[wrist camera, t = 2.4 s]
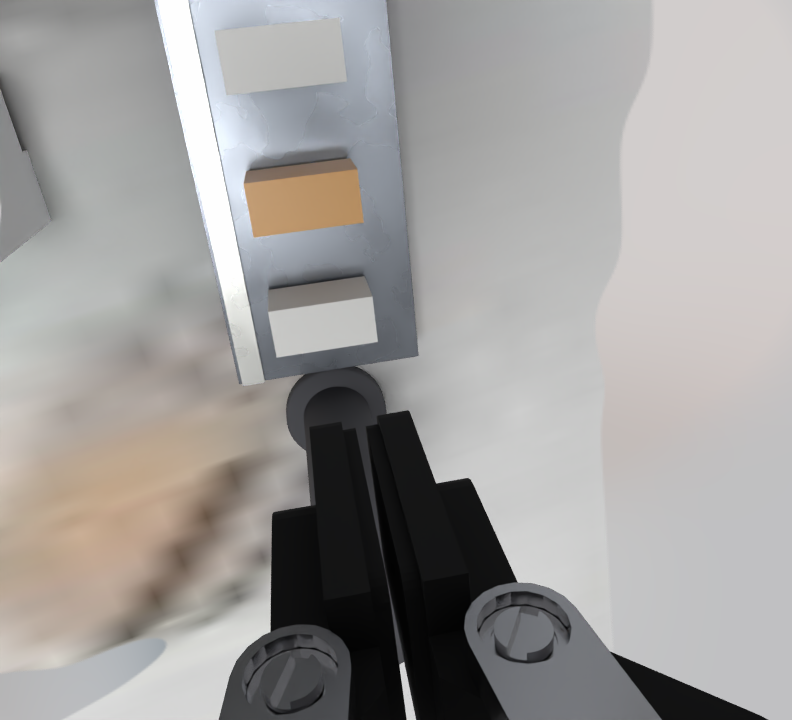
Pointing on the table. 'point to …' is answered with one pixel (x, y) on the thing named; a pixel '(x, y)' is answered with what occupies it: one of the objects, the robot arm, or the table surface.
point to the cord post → (338, 402)
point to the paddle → (281, 56)
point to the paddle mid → (303, 197)
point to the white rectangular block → (321, 316)
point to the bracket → (17, 191)
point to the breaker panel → (285, 146)
